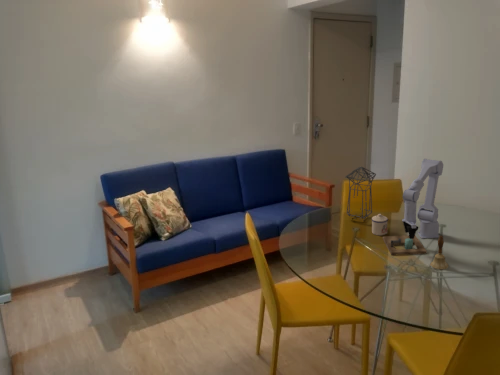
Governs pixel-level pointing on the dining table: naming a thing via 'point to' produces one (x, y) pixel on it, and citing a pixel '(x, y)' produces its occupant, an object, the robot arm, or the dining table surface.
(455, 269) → the dining table surface
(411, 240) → the bobbin
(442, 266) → the hand bell
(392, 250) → the wooden picture frame
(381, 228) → the teacup with lid
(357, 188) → the geometric lantern
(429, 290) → the dining table surface
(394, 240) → the hook arm
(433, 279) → the dining table surface
